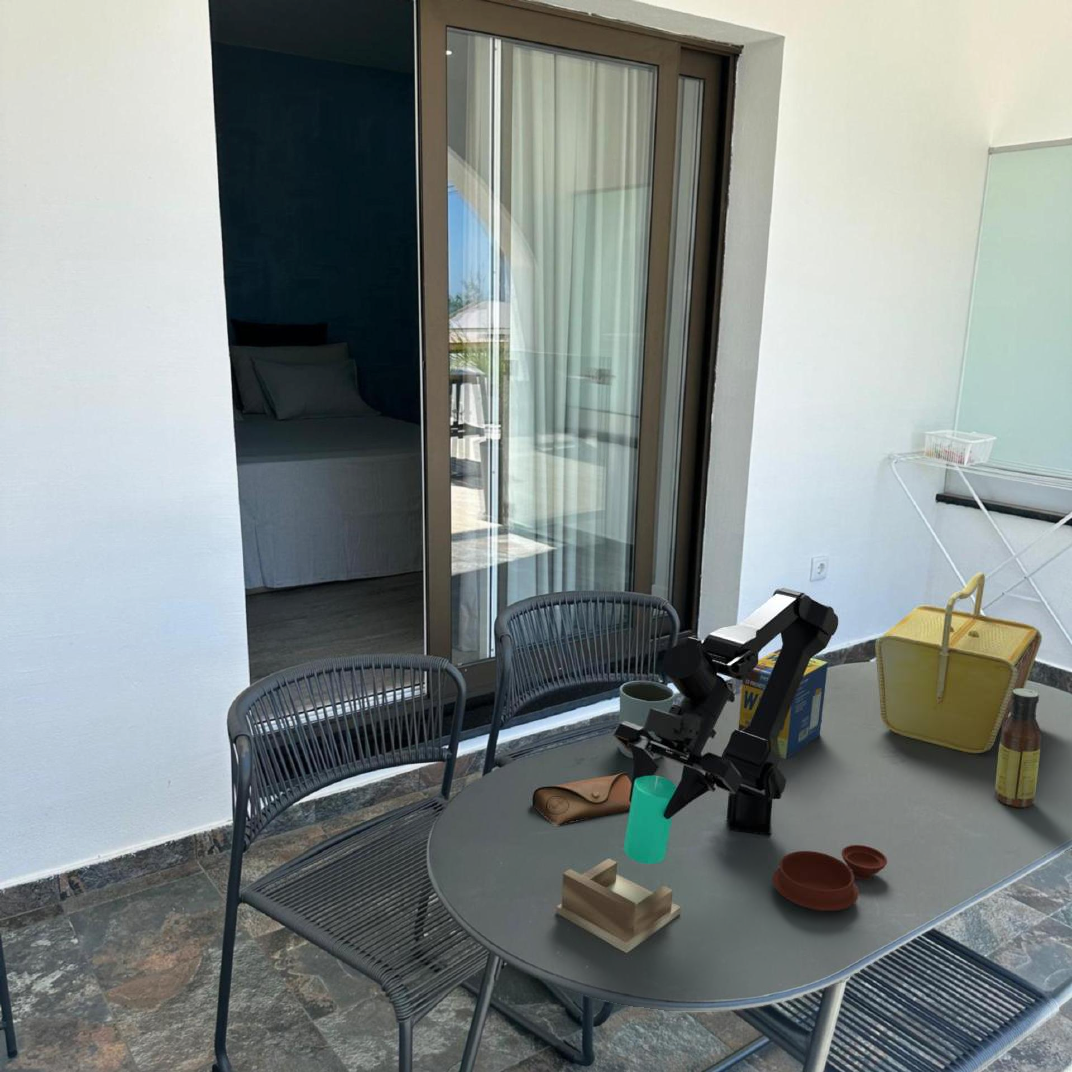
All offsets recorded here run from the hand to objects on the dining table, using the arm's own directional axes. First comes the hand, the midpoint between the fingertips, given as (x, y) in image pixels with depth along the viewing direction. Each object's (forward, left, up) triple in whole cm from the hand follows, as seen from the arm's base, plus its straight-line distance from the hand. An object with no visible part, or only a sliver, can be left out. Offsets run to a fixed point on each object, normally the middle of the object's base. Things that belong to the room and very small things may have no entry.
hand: (648, 810), depth 133 cm
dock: (+3, +5, -13) cm, 14 cm away
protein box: (-19, -60, -13) cm, 64 cm away
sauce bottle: (-58, -46, -13) cm, 75 cm away
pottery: (-26, -10, -14) cm, 31 cm away
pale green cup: (+6, -47, -13) cm, 49 cm away
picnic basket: (-53, -78, -13) cm, 95 cm away
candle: (0, -2, -7) cm, 8 cm away
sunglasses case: (+12, -23, -14) cm, 29 cm away
